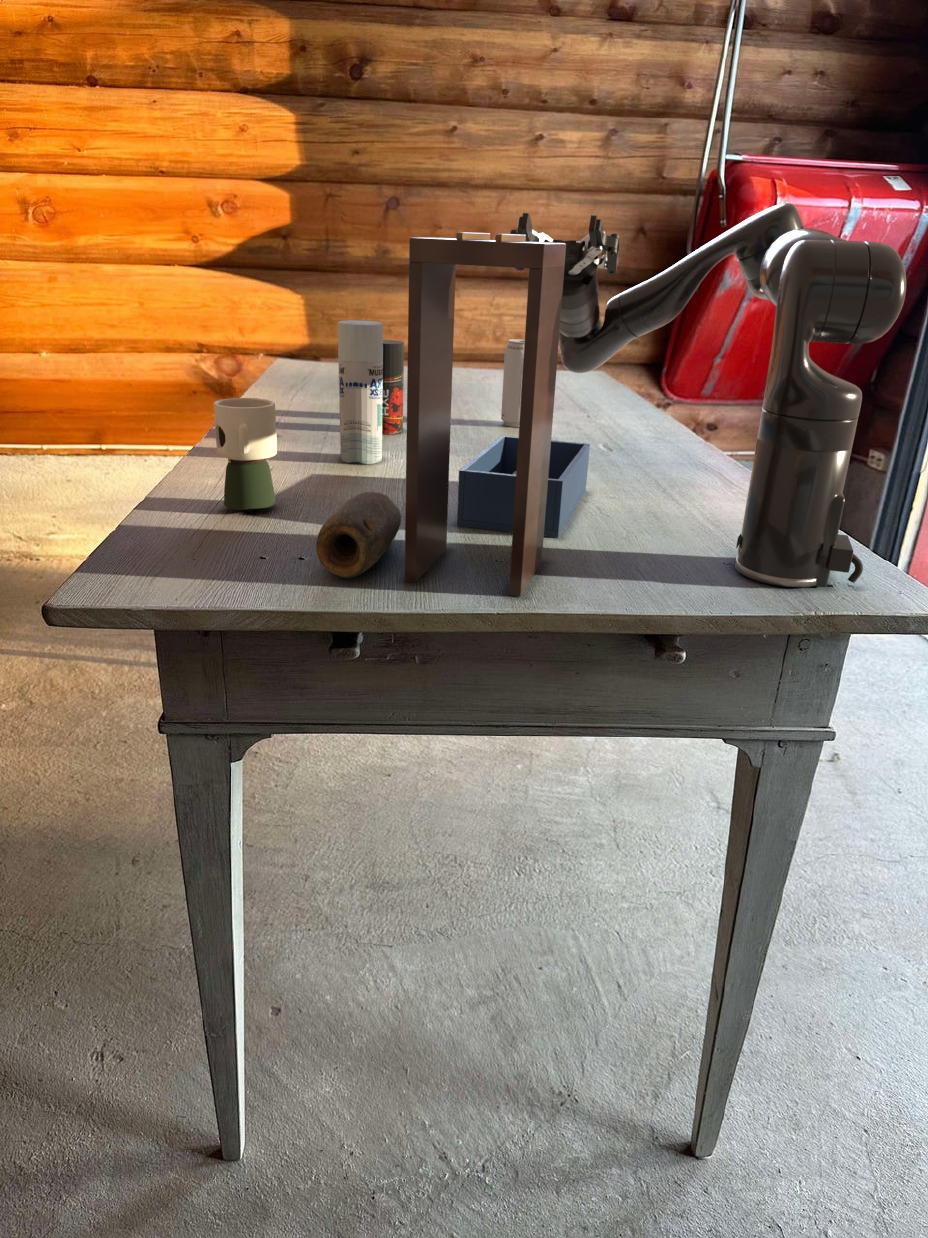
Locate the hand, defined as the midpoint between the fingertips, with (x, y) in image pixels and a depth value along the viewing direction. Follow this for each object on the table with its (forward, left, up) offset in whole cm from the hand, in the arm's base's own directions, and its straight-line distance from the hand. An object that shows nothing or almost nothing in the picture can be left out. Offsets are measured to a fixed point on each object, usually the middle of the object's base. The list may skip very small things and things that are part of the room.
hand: (558, 220), depth 113 cm
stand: (0, +34, -34) cm, 49 cm away
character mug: (+32, +23, -35) cm, 52 cm away
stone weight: (+12, +36, -35) cm, 51 cm away
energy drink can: (+13, -45, -35) cm, 58 cm away
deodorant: (+33, -29, -35) cm, 56 cm away
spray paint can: (+29, -7, -35) cm, 46 cm away
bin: (0, +9, -34) cm, 35 cm away
